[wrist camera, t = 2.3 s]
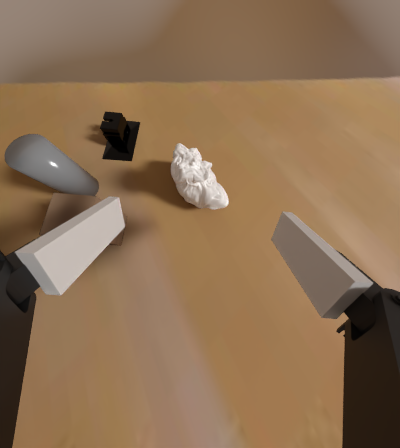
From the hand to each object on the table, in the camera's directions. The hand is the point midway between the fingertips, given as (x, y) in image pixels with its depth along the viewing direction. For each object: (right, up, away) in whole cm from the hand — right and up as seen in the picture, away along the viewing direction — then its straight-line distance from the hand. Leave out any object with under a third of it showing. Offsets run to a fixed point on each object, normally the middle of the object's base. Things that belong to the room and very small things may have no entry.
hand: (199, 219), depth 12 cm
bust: (-1, +5, +14) cm, 15 cm away
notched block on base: (-15, +16, +17) cm, 28 cm away
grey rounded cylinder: (-21, +6, +14) cm, 25 cm away
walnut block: (-15, -1, +12) cm, 19 cm away
